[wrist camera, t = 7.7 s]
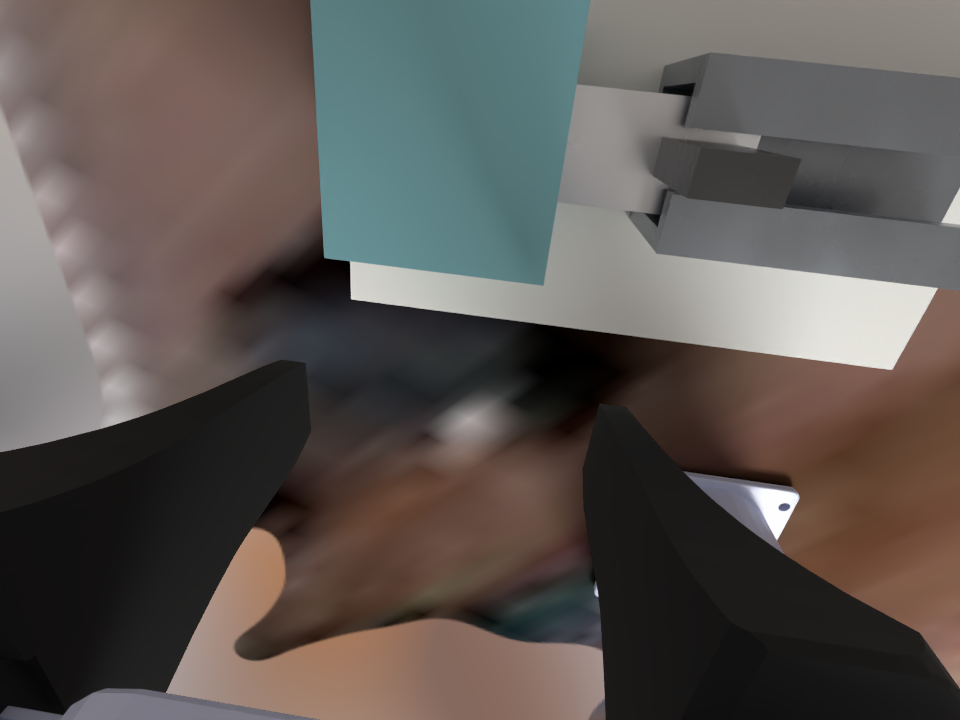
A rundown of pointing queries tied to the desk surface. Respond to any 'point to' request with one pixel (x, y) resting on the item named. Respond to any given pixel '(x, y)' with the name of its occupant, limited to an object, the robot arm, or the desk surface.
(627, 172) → the bar
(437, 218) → the socket
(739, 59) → the grey rail guide
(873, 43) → the base board
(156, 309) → the desk surface
